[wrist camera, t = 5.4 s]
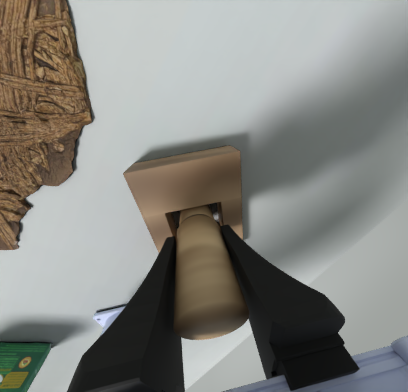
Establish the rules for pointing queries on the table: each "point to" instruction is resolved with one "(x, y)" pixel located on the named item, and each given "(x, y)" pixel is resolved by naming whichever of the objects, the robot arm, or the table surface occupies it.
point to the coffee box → (20, 364)
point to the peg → (205, 280)
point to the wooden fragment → (36, 104)
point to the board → (187, 188)
